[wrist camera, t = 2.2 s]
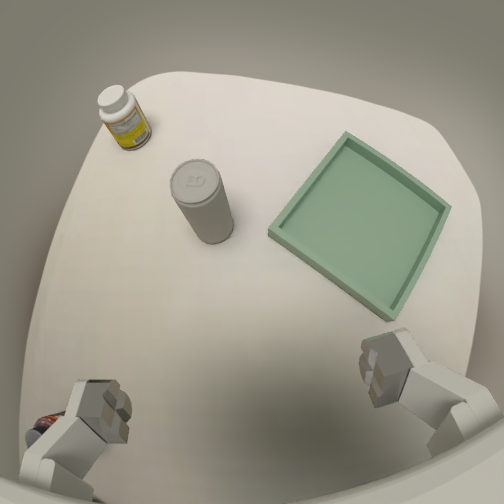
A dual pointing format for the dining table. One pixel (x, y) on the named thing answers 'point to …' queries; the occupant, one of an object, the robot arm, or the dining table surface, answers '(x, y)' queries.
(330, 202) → the green tray
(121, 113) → the supplement bottle
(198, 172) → the beverage can
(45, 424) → the supplement bottle
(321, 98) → the dining table surface
